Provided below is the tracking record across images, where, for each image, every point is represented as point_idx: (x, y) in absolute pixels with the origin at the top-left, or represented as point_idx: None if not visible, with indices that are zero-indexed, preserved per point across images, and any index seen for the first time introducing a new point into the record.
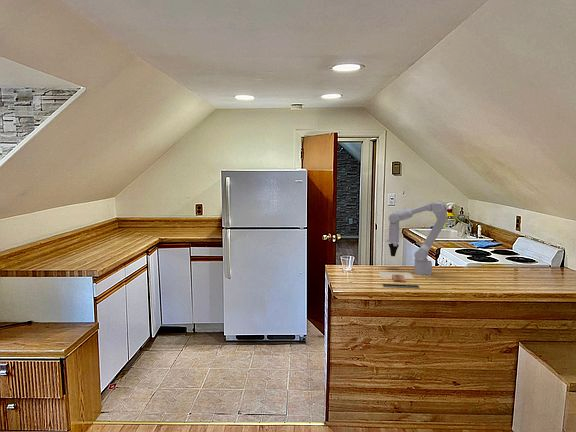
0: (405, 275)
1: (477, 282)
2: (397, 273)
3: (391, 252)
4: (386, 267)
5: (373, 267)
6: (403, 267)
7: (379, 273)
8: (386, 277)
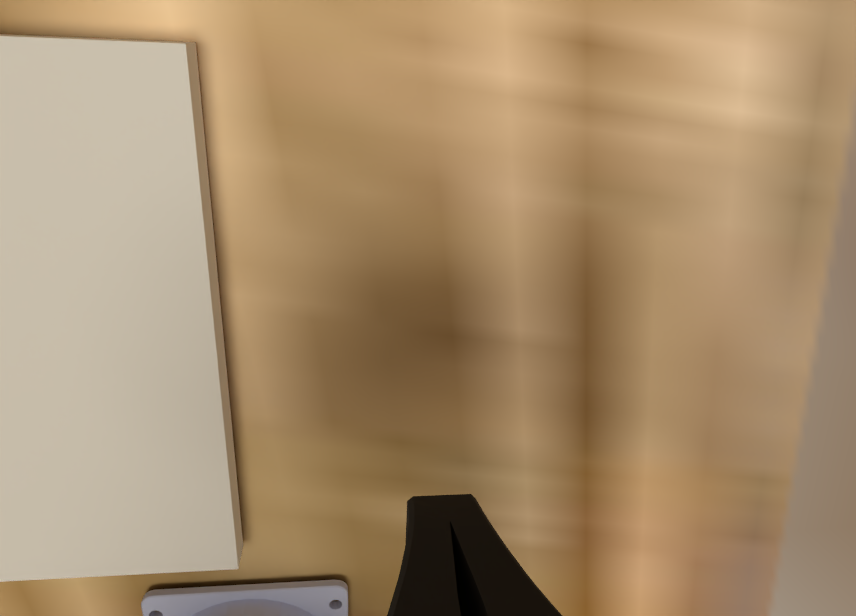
0: (30, 498)
1: None
2: (135, 398)
3: (405, 583)
4: (715, 277)
5: (738, 27)
6: (694, 510)
7: (19, 50)
8: None
